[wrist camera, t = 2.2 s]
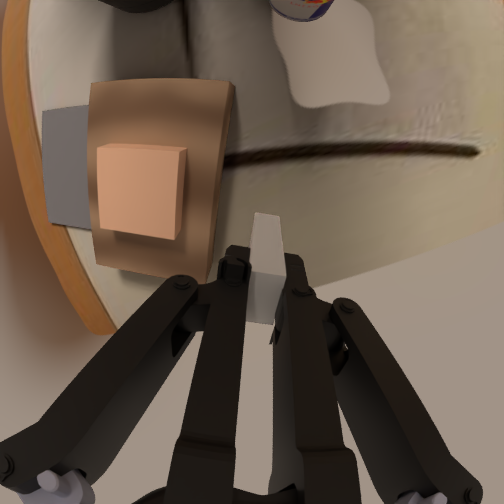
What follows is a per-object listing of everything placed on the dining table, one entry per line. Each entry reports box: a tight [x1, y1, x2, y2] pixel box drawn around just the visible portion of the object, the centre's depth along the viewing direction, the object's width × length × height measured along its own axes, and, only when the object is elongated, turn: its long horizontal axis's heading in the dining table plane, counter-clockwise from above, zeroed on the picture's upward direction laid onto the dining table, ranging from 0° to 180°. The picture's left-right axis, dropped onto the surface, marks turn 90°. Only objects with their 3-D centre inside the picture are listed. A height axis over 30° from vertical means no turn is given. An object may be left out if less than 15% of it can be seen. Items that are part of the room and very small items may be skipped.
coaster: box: [97, 143, 187, 240], centre depth 20 cm, size 7×7×2 cm
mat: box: [42, 105, 91, 229], centre depth 24 cm, size 14×9×1 cm, turn 171°
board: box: [87, 78, 235, 284], centre depth 23 cm, size 18×12×4 cm, turn 171°
